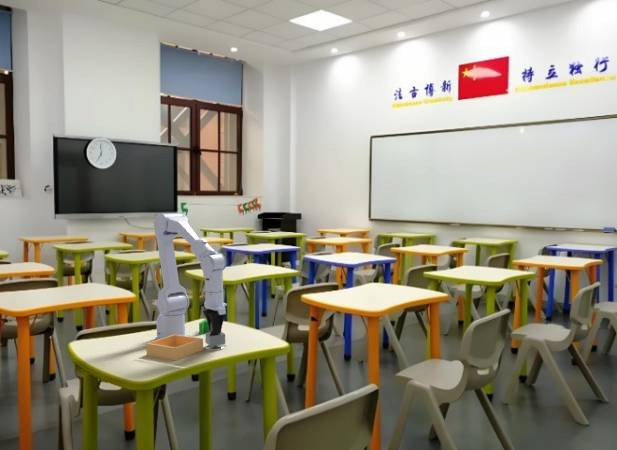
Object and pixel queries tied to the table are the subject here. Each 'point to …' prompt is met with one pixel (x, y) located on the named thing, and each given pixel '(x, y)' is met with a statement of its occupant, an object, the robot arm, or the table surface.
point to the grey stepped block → (214, 337)
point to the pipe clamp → (203, 327)
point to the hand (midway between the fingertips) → (215, 332)
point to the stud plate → (215, 347)
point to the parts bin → (174, 347)
